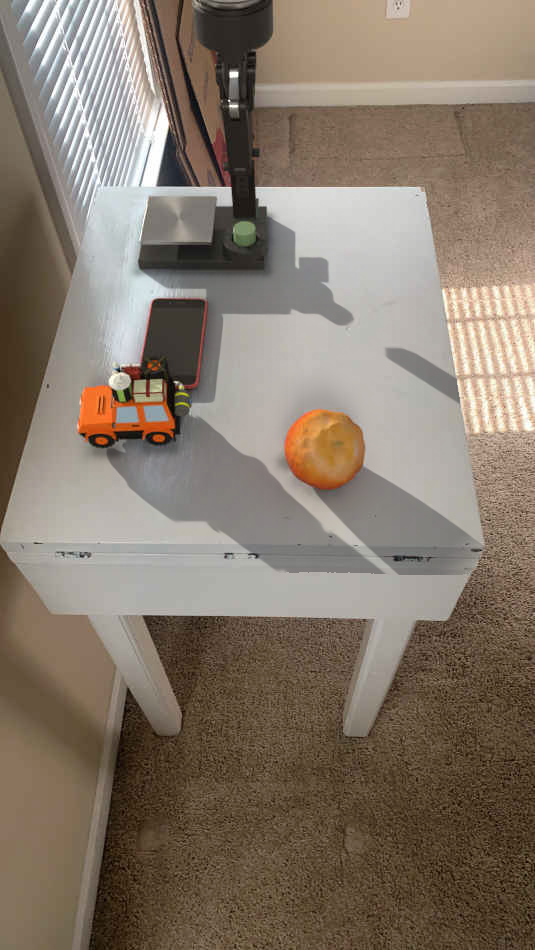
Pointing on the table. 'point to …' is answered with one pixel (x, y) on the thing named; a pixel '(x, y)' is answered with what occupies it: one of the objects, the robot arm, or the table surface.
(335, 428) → the fruit
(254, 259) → the scale
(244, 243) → the tare button
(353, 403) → the table surface
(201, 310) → the smartphone
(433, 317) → the table surface
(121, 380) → the toy car
